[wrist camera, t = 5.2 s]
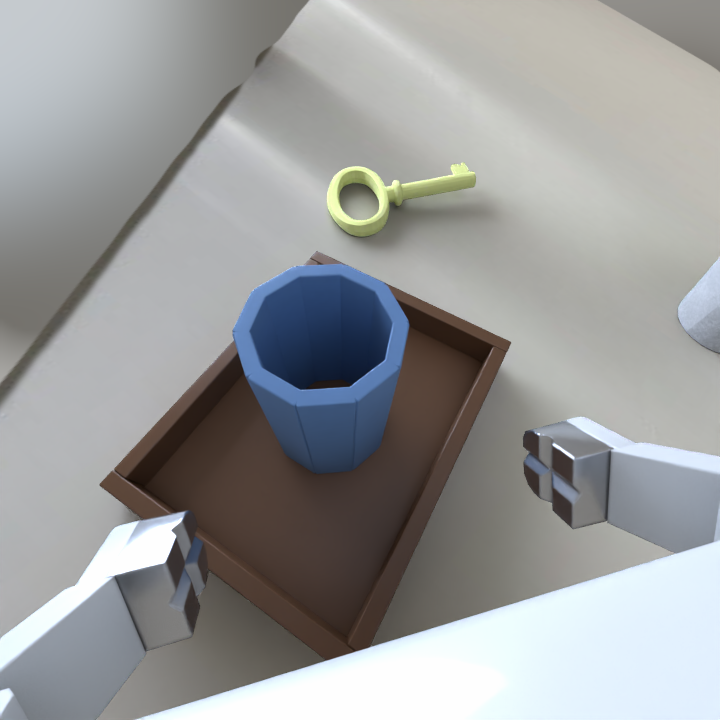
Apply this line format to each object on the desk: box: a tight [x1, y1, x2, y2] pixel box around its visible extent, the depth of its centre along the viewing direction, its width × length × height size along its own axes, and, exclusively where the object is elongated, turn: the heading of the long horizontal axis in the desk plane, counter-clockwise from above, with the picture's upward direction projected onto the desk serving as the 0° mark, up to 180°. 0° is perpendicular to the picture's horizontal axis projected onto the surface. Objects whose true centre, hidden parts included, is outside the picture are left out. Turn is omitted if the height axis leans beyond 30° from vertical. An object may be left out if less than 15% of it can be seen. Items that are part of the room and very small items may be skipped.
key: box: [327, 163, 476, 237], centre depth 31 cm, size 7×12×2 cm, turn 119°
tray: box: [100, 251, 511, 661], centre depth 20 cm, size 18×14×2 cm
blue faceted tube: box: [233, 264, 409, 474], centre depth 17 cm, size 6×6×9 cm
